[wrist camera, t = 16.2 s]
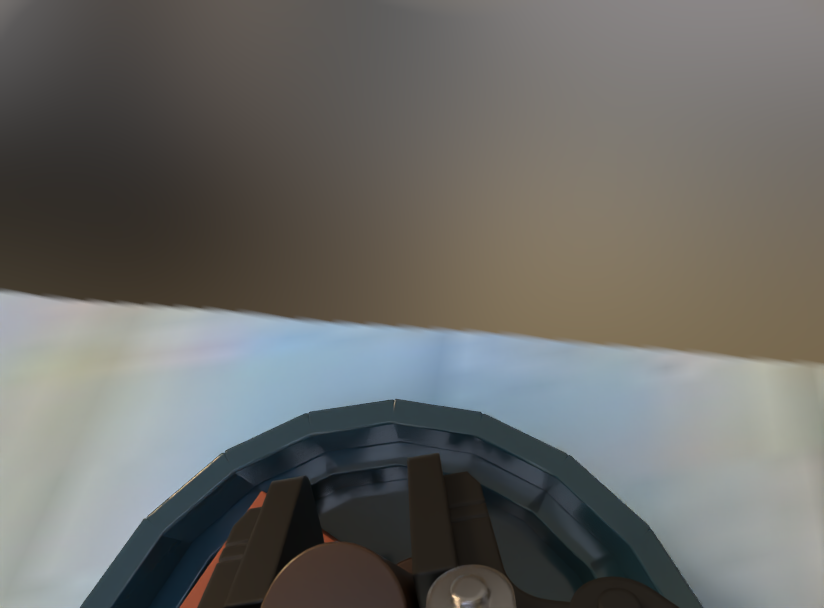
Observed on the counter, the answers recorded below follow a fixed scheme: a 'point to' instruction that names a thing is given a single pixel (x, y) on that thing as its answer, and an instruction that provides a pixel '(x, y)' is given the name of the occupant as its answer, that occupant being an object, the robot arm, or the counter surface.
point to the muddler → (342, 580)
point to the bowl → (398, 504)
